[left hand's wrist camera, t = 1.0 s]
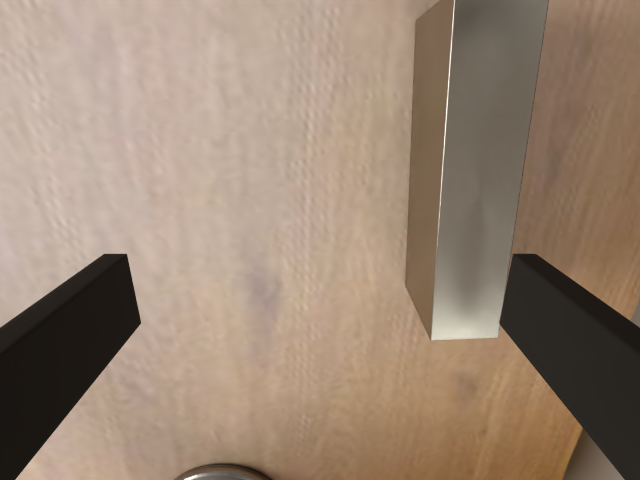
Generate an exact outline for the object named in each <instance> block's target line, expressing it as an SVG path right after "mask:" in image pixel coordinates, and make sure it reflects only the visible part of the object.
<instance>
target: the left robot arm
mask: <svg viewBox="0 0 640 480" xmlns="http://www.w3.org/2000/svg"><path fill="white" fill-rule="evenodd" d="M140 324H141V320H140V315H139V311H138V306H137V301H136V296H135V291H134V286H133V282H132V277H131V272H130V267H129V262H128V257H127V254H103V255H102V256H101V257H99V258H98V259H96V260H95V261H94V262H92V263H91V264H89V265H88V266H87V267H85V268H84V269H82V270H81V271H80V272H78V273H77V274H75V275H74V276H73V277H71V278H70V279H68V280H67V281H65V282H64V283H63V284H61V285H60V286H58V287H57V288H56V289H54V290H53V291H51V292H50V293H49V294H47V295H46V296H44V297H43V298H42V299H40V300H39V301H37V302H36V303H34V304H33V305H32V306H30V307H29V308H27V309H26V310H25V311H23V312H22V313H20V314H19V315H18V316H16V317H15V318H13V319H12V320H11V321H9V322H8V323H6V324H5V325H4V326H2V327H1V328H0V480H15V479H16V478H17V477H18V475H19V474H20V473H21V472H22V471H23V469H24V468H25V467H26V466H27V464H28V463H29V462H30V461H31V459H32V458H33V457H34V456H35V454H36V453H37V452H38V451H39V449H40V448H41V447H42V446H43V444H44V443H45V442H46V441H47V439H48V438H49V437H50V436H51V434H52V433H53V432H54V431H55V429H56V428H57V427H58V426H59V425H60V423H61V422H62V421H63V420H64V418H65V417H66V416H67V415H68V413H69V412H70V411H71V410H72V408H73V407H74V406H75V405H76V403H77V402H78V401H79V400H80V398H81V397H82V396H83V395H84V393H85V392H86V391H87V390H88V388H89V387H90V386H91V385H92V383H93V382H94V381H95V380H96V379H97V377H98V376H99V375H100V374H101V372H102V371H103V370H104V369H105V367H106V366H107V365H108V364H109V362H110V361H111V360H112V359H113V357H114V356H115V355H116V354H117V352H118V351H119V350H120V349H121V347H122V346H123V345H124V344H125V342H126V341H127V340H128V339H129V338H130V336H131V335H132V334H133V333H134V331H135V330H136V329H137V328H138V326H139V325H140ZM499 324H500V325H501V326H502V328H503V329H504V330H505V331H506V333H507V334H508V335H509V336H510V338H511V339H512V340H513V341H514V342H515V344H516V345H517V346H518V347H519V349H520V350H521V351H522V352H523V354H524V355H525V356H526V357H527V359H528V360H529V361H530V362H531V364H532V365H533V366H534V367H535V369H536V370H537V371H538V372H539V374H540V375H541V376H542V377H543V379H544V380H545V381H546V382H547V383H548V385H549V386H550V387H551V388H552V390H553V391H554V392H555V393H556V395H557V396H558V397H559V398H560V400H561V401H562V402H563V403H564V405H565V406H566V407H567V408H568V410H569V411H570V412H571V413H572V415H573V416H574V417H575V418H576V420H577V421H578V422H579V423H580V425H581V426H582V427H583V428H584V429H585V431H586V432H587V433H588V434H589V436H590V437H591V438H592V439H593V441H594V442H595V443H596V444H597V446H598V447H599V448H600V449H601V451H602V452H603V453H604V454H605V456H606V457H607V458H608V459H609V460H610V462H611V463H612V464H613V466H614V467H615V468H616V469H617V470H618V472H619V473H620V474H621V475H622V477H623V478H624V479H625V480H640V328H639V327H638V326H636V325H635V324H634V323H632V322H631V321H629V320H628V319H627V318H625V317H624V316H622V315H621V314H620V313H618V312H617V311H615V310H614V309H613V308H611V307H610V306H608V305H607V304H606V303H604V302H603V301H601V300H600V299H598V298H597V297H596V296H594V295H593V294H591V293H590V292H589V291H587V290H586V289H584V288H583V287H582V286H580V285H579V284H577V283H576V282H575V281H573V280H572V279H570V278H569V277H567V276H566V275H565V274H563V273H562V272H560V271H559V270H558V269H556V268H555V267H553V266H552V265H551V264H549V263H548V262H546V261H545V260H544V259H542V258H541V257H539V256H538V255H537V254H513V257H512V262H511V267H510V272H509V277H508V282H507V286H506V291H505V296H504V301H503V306H502V311H501V315H500V320H499ZM175 480H270V479H268V478H267V477H265V476H264V475H262V474H260V473H258V472H255V471H253V470H250V469H247V468H244V467H240V466H234V465H223V464H219V465H207V466H202V467H198V468H195V469H192V470H189V471H187V472H185V473H183V474H182V475H180V476H179V477H177V478H176V479H175Z"/></svg>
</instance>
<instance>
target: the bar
mask: <svg viewBox="0 0 640 480" xmlns="http://www.w3.org/2000/svg"><path fill="white" fill-rule="evenodd" d="M548 3H549V0H440V1H439V2H437V3H436V4H435V5H434V6H433V7H431V8H430V9H429V10H428V11H427V12H425V13H424V14H423V15H422V16H421V17H419V18H418V19H417V20H416V29H415V55H414V81H413V106H412V132H411V158H410V183H409V209H408V235H407V260H406V289H407V291H408V293H409V295H410V297H411V299H412V302H413V304H414V306H415V308H416V310H417V312H418V315H419V317H420V319H421V321H422V323H423V325H424V328H425V330H426V332H427V334H428V336H429V339H430V340H455V339H480V338H498V336H499V329H500V324H499V320H500V315H501V311H502V306H503V301H504V296H505V289H506V282H507V276H508V269H509V262H510V256H511V249H512V242H513V236H514V229H515V222H516V216H517V209H518V202H519V196H520V189H521V182H522V176H523V169H524V162H525V156H526V149H527V143H528V136H529V129H530V123H531V116H532V109H533V103H534V96H535V89H536V83H537V76H538V69H539V63H540V56H541V49H542V43H543V36H544V29H545V23H546V16H547V9H548Z"/></svg>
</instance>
